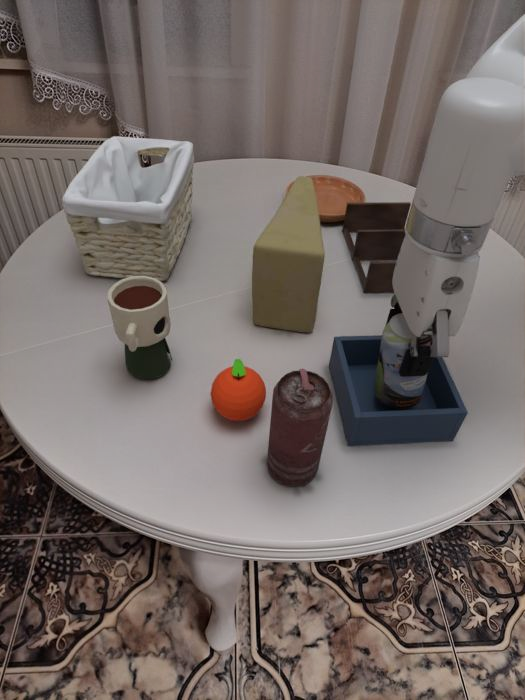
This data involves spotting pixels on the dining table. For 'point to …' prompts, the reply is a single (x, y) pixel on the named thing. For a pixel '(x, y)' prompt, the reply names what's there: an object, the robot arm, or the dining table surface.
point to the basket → (131, 207)
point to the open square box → (380, 419)
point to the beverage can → (397, 366)
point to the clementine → (238, 392)
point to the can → (298, 426)
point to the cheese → (289, 263)
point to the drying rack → (376, 240)
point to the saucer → (334, 196)
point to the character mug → (142, 324)
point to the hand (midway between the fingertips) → (404, 352)
